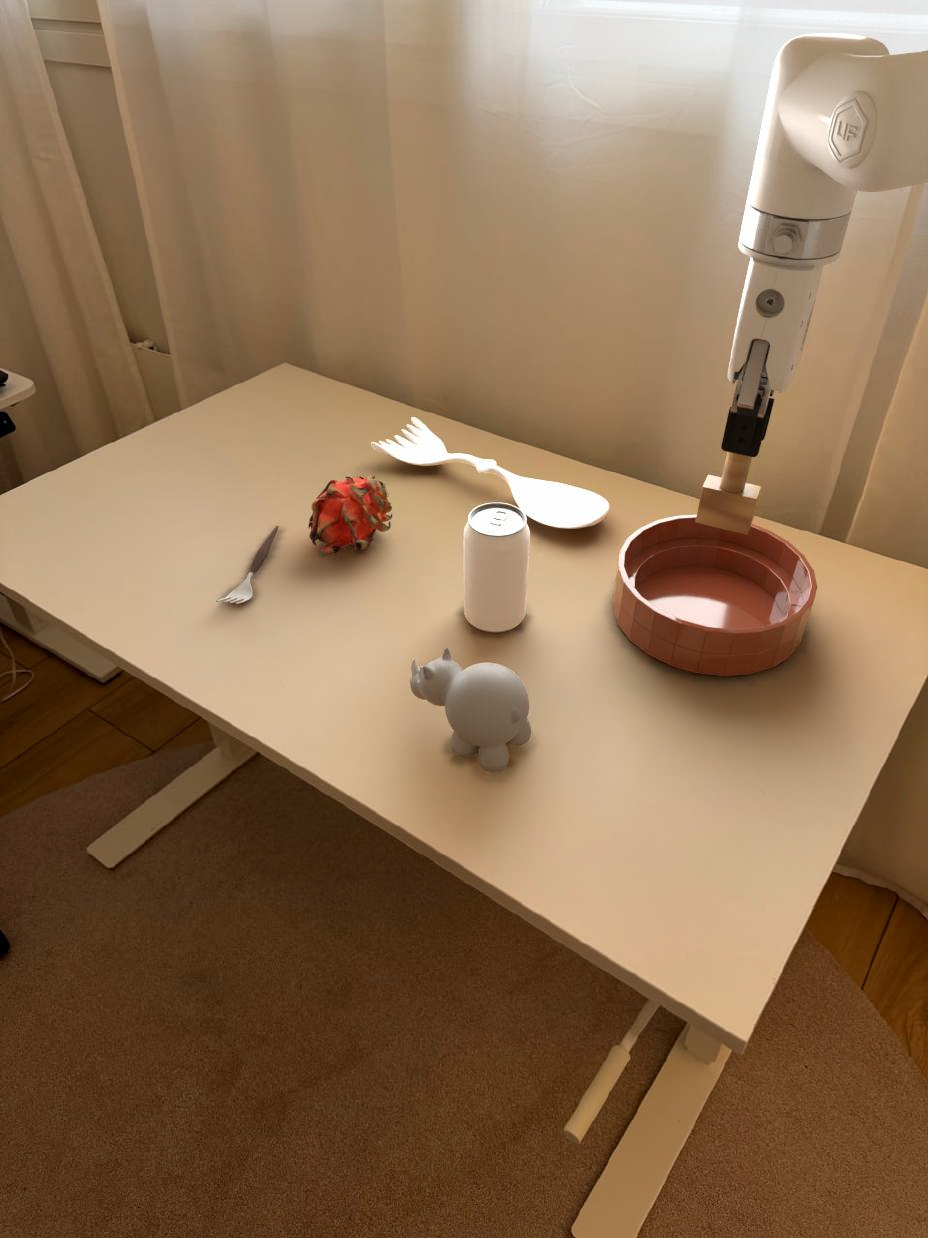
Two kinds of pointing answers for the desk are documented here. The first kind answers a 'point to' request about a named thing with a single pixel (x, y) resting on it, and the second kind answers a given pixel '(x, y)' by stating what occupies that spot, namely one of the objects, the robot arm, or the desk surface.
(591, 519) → the spoon
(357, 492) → the dragon fruit
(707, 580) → the bowl
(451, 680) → the chubby cartoon animal
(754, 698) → the desk surface
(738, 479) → the wooden stamp
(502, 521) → the can
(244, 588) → the fork
